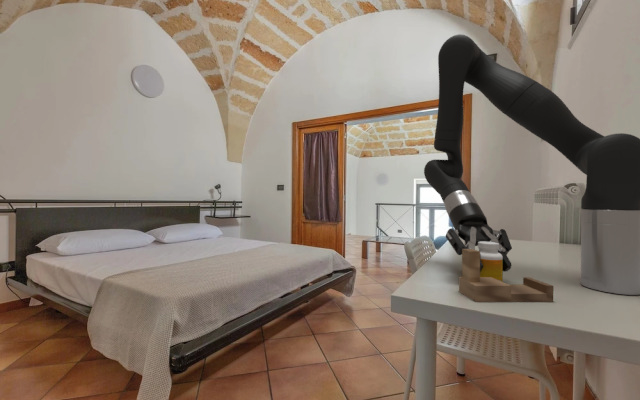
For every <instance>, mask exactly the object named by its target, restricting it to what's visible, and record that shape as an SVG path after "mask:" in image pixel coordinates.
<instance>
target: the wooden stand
mask: <svg viewBox="0 0 640 400" xmlns="http://www.w3.org/2000/svg"><path fill="white" fill-rule="evenodd" d="M480 260H481V254H480V251H479V250H476V249H475V250H473V249H462V255H461V276H459V277H458V279H459V281H458V292H459V293H460V294H462V295H463V296H466V297H467V298H469V299H470V300H471V301H474V302H475V303H481V302H482V303H492V302H493V303H496V302H497V303H501V302H502V303H506V302H507V303H518V302H519V303H525V302H527V303H529V302H530V303H534V302H536V303H539V302H540V303H545V302H546V303H553V302H554V285H551V284H549V283H547V282H543V281H540V280H538V279H535V278H533V277H529V276H528V277H522V281H523V282H522V283H521V284H516V283H515V284H508V283H505V282H504V281H503V282H501V281H499V280H497V279H494V278H492V277H480Z"/></svg>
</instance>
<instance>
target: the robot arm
mask: <svg viewBox="0 0 640 400" xmlns="http://www.w3.org/2000/svg"><path fill="white" fill-rule="evenodd" d="M437 59H438V60H437V62H438V106H437V118H436V126H435V131H434V132H435V133H434V142H433V148H434V149H435V151H437V152H441V153H445V154H446V156H447V159H431V160H429V161H428V162H426V164H425V166H424V168H423V174H424V178H425V180H426V182H427V183H428V184H429V186H431V187H432V188H433V190H435V192H436V193H438V195H439V196H440V198H441V200H442V202H443V204H444V207H445V212H446V213H447V215H448V217H449V220H450V222H451V224H452V227H453V228H449V229H448V230H447V233H446V234H445V238H446V239H447V241H448V242H449V244H450V246H451V248H453V250H454V252H455V254H456V255H458V256H462V249H473V250H476V247H478V242H481V241H485V242H495V243H499V250H498V253H500V254H501V255H502V256H503V272H508V271H509V270H511V268H512V262H511V261H510V258H509V257H508V256H507V255H508V253H509V252H510V251H512V249H513V248H512V244H511V242H510V239H509V236H508V234H507V233H508V232H507V231H506V230H505V229H504V228H501V229H500V230H494V229H493V228H492V227H490V226H489V224H488V219H487V217H486V215H485V213H484V212H483V210H482V209H481V206H480V205H479V202H477V199H476V198H475V197H474V195H473V194H472V193H471V191H470V190H469V188H468V186H467V185H466V183H465V182H464V181H463V180H462V179H461V178H462V177H463V173H464V165H463V160H462V152H461V150H462V149H461V141H462V133H463V128H464V127H463V125H464V103H463V102H464V88H465V84H468V85H469V86H472V87H473V88H474V89H476V90H478V91H479V92H480V93H482V95H483V96H484V97H485V98H486V99H487V100H488V101H489V102H490V104H492V105H493V106H494V107H496V109H498V110H499V111H500V112H501V113H503V114H504V115H505V116H507V117H508V118H509V119H511V120H512V121H513V122H514V123H516V124H518V125H519V126H521V127H523V128H524V129H526V130H527V131H528V132H530V133H531V134H533V135H535V136H536V137H538V138H539V139H541V140H542V141H544V142H545V143H547V144H549V145H550V146H552V147H554V148H555V149H556V150H557V151H558V152H559V153H560V154H561V155H563V156H564V157H565V158H566V159H567V160H568V161H569V162H570V163H572V165H574V166H575V167H576V168H577V169H578V170H580V172H581V173H582V174H585V176H586V180H585V181H586V185H585V189H584V190H585V191H584V193H583V195H582V197H581V201H580V209H581V210H580V223H581V224H580V285H582V286H584V287H585V288H589V289H592V290H596V291H601V292H604V293H605V292H606V293H610V294H616V295H617V294H618V295H624V296H625V295H626V296H628V295H629V296H638V295H640V137H638V136H635V135H633V134H630V133H624V132H623V133H619V132H618V133H612V134H608V135H603V134H601V133H599V132H597V131H596V130H594V129H592V128H590V127H588V126H587V125H585V124H584V123H582V122H581V121H580V120H579V119H578V118H577V116H575V115H574V114H573V112H572V111H571V110H570V109H569V107H568V106H567V105H566V104H565V103H564V102H563V100H562V99H561V98H560V97H559V96H558V95H557V94H555V93H554V92H553V91H552V90H551V89H549V88H547V87H546V86H545V85H543V84H542V83H540V82H539V81H537V80H535V79H534V78H531V77H529V76H527V75H524V74H523V73H521V72H518V71H516V70H513V69H510V68H508V67H506V66H503V65H501V64H500V63H499V62H496V61H495V60H494V59H493V58H492V57H490V56H489V55H488V54H486V53H485V51H483V50H482V49H481V48H480V47H479V46H478V44H477V43H476V42H475V41H474V39H472V38H471V37H469V36H468V35H465V34H461V33H459V34H454V35H453V36H450V37H449V38H447V39H446V40H445V42H443V44H442V45H441V47H440V49H439V52H438V57H437ZM462 240H463V241H462ZM463 242H464V243H463ZM482 268H483V264H482V262H481V260H480V271H481V270H482Z"/></svg>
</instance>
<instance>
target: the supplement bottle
mask: <svg viewBox="0 0 640 400" xmlns="http://www.w3.org/2000/svg"><path fill="white" fill-rule="evenodd" d="M477 248H478V251H480V254H481V262H482V264H483V268H482V270H481V271H480V277H492V278H494V279H497V280H499V281H501V282H504V281H503V280H504V279H503V278H504V277H503V272H504V271H503V256H502V255H501V254H500V253H498V250H499V243H495V242H491V241H490V242H485V241H481V242H478V246H477Z"/></svg>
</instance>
